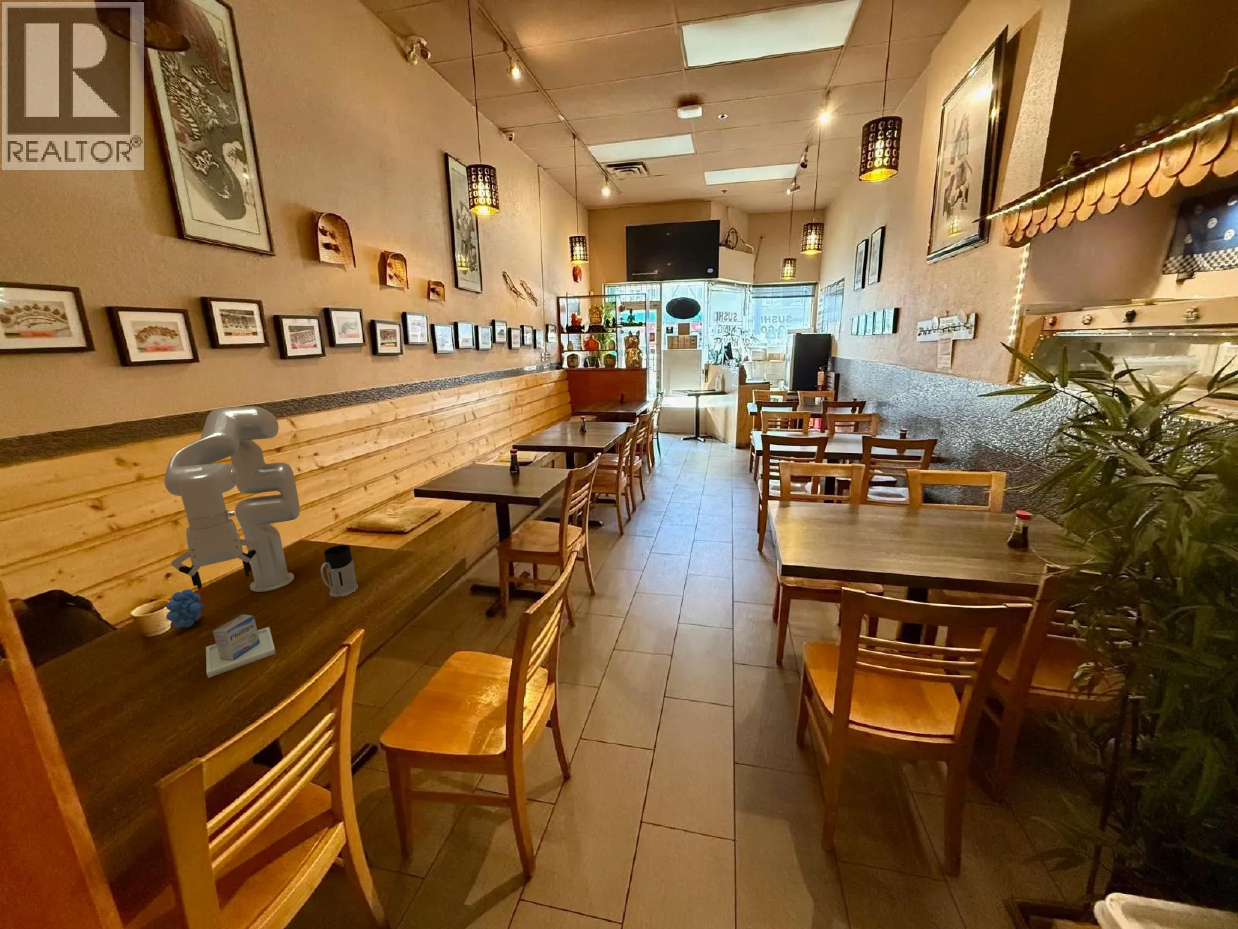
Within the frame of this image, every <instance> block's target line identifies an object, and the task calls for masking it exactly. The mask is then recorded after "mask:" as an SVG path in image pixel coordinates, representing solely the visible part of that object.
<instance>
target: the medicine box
mask: <svg viewBox="0 0 1238 929" xmlns="http://www.w3.org/2000/svg"><path fill="white" fill-rule="evenodd" d="M212 634H213V638H214V640H215V641H214V642H215V644H216V645H217V649H218V653H219V656H220V659H228V660H235V659H236V658H238V657H239V656H241V655H242V654H244V653H245V652H247V651H248V650H250V649H251V648H253V647H254V646H256V645H257V644H259V643H260V640H259V636H258V628H257V624H256V620H255V616H254V615H250V614H240V615H238V616H237V617H235V618H233V619H231V620H229V621H227V622H226V623H224V624H222V625H221V626H219V627H217V628H216V629H215V628H214V630H212Z"/></svg>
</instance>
